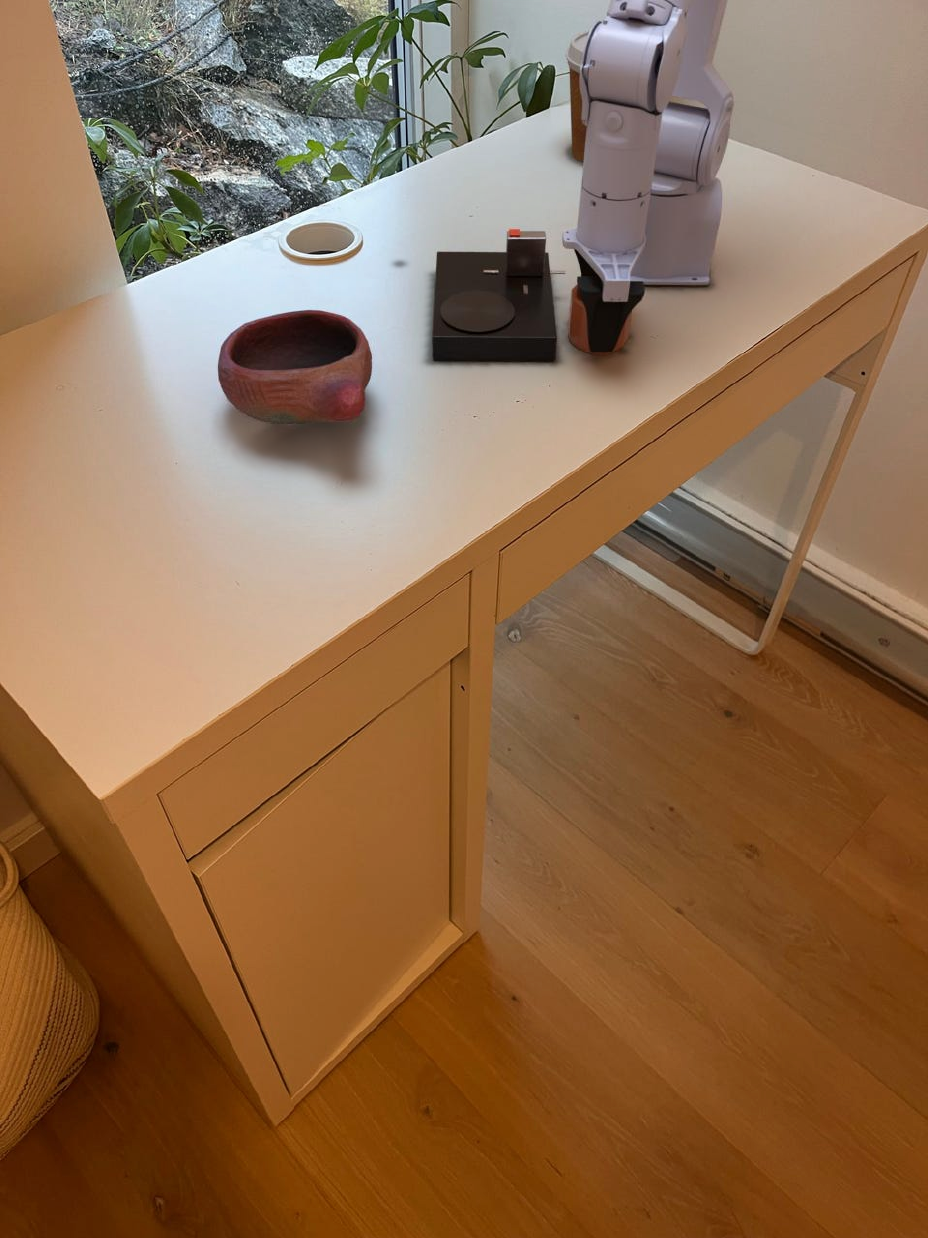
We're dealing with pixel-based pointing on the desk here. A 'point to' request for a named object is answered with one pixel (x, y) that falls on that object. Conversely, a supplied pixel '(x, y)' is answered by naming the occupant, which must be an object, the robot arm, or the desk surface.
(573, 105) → the disposable coffee cup
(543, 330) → the stove
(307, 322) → the bowl
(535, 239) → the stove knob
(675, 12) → the robot arm
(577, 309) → the small cup
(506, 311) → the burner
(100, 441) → the desk surface
